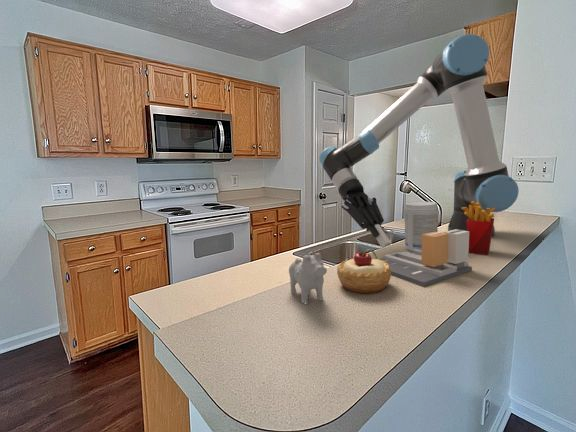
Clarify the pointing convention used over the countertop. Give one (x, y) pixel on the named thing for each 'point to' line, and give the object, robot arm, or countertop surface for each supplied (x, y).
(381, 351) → the countertop surface
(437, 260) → the fader knob
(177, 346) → the countertop surface
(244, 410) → the countertop surface
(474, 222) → the french fries
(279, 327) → the countertop surface
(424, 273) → the console board
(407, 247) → the supplement tub
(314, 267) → the dog figurine
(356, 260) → the pastry
